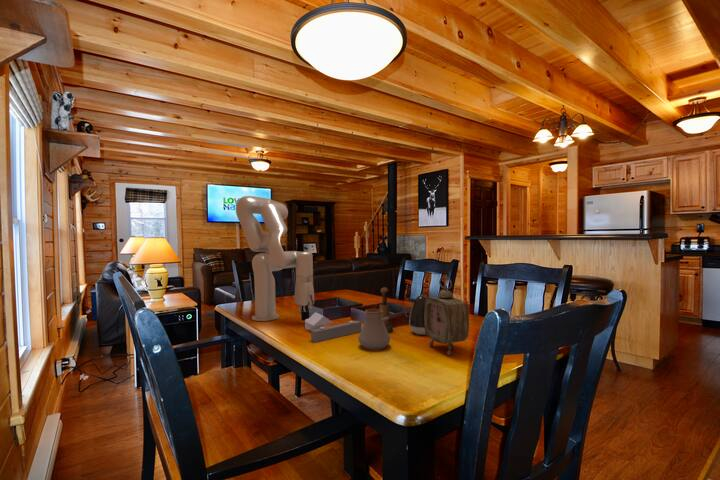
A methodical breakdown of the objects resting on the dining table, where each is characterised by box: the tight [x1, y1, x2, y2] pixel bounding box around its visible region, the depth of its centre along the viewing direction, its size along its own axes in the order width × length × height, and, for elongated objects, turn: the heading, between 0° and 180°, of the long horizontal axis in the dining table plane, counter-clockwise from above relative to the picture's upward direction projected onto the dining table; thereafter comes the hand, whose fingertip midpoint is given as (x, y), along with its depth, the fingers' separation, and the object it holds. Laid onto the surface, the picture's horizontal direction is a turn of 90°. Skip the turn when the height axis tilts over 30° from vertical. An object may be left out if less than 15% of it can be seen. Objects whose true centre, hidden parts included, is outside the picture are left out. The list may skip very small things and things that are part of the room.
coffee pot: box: [357, 308, 411, 351], centre depth 120 cm, size 21×12×15 cm, turn 44°
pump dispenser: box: [408, 294, 428, 336], centre depth 140 cm, size 10×10×15 cm
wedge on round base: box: [304, 311, 334, 331], centre depth 148 cm, size 9×7×13 cm
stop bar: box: [310, 320, 362, 344], centre depth 137 cm, size 3×22×5 cm, turn 129°
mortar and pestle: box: [379, 286, 394, 334], centre depth 144 cm, size 7×6×18 cm
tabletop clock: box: [424, 276, 470, 356], centre depth 119 cm, size 14×9×25 cm, turn 22°
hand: (305, 320), depth 156 cm, fingers closed
